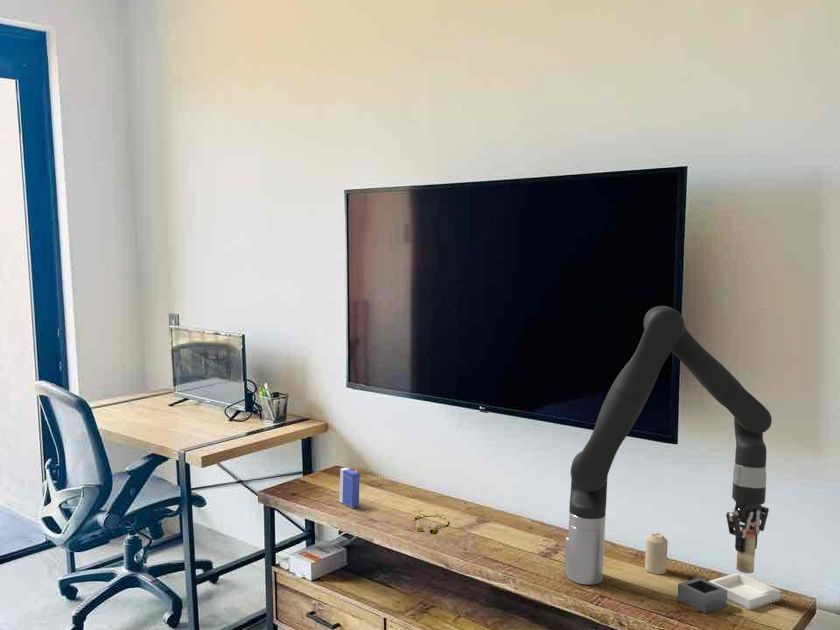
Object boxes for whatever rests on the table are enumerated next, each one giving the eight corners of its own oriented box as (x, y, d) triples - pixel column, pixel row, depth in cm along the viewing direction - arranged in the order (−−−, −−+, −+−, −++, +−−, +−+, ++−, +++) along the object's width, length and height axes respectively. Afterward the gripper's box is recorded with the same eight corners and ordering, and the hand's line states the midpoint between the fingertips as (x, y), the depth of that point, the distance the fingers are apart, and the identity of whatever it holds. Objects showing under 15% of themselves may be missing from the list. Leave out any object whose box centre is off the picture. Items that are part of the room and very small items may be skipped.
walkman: (358, 507, 242) (359, 471, 241) (352, 508, 240) (352, 473, 240) (345, 501, 248) (346, 466, 247) (339, 502, 246) (339, 467, 246)
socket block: (677, 599, 179) (678, 583, 179) (699, 593, 184) (699, 577, 183) (704, 612, 173) (705, 596, 172) (726, 606, 177) (727, 590, 176)
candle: (654, 565, 201) (655, 529, 200) (670, 572, 196) (672, 535, 196) (640, 568, 198) (642, 532, 197) (656, 576, 193) (658, 539, 193)
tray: (707, 590, 185) (707, 581, 185) (737, 581, 191) (737, 572, 191) (749, 610, 175) (749, 600, 175) (779, 600, 181) (780, 590, 181)
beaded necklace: (398, 527, 225) (398, 521, 225) (427, 514, 238) (427, 508, 238) (431, 537, 218) (431, 530, 218) (458, 523, 231) (458, 516, 231)
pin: (732, 568, 183) (734, 529, 183) (743, 565, 185) (745, 527, 185) (747, 574, 180) (749, 534, 179) (757, 571, 182) (759, 532, 181)
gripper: (753, 475, 188) (750, 540, 189) (717, 481, 181) (714, 549, 182) (780, 482, 182) (777, 550, 182) (744, 490, 174) (740, 560, 175)
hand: (745, 549), depth 182 cm, fingers closed on pin, 4 cm apart
